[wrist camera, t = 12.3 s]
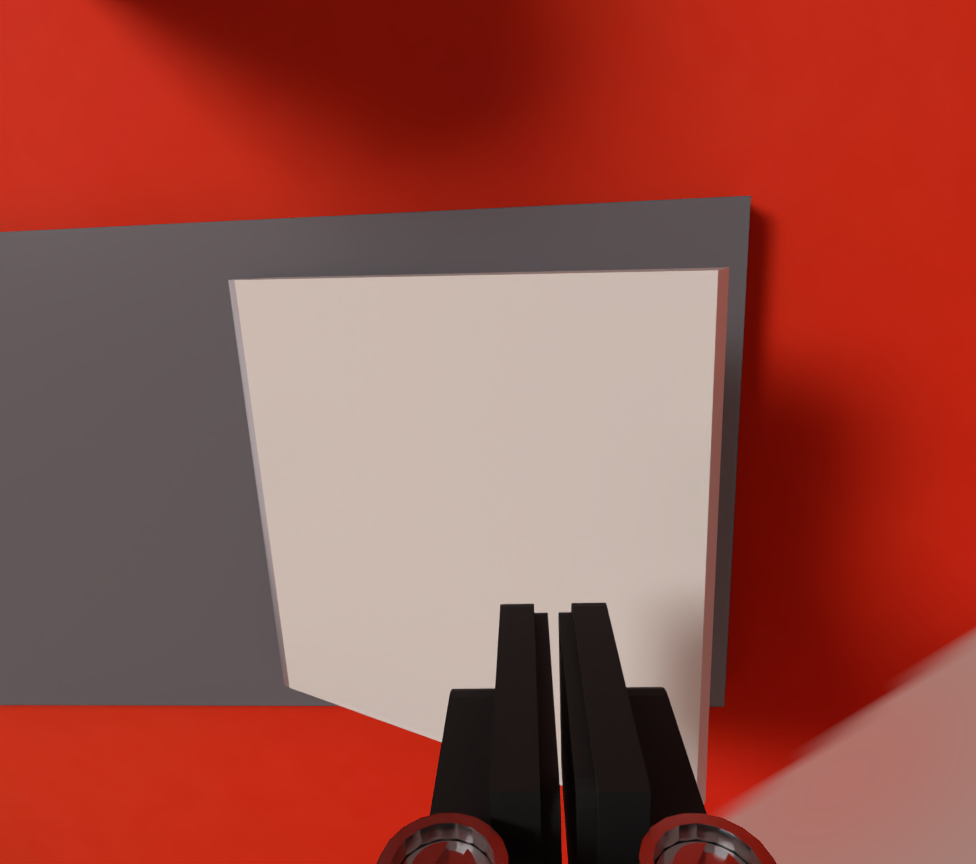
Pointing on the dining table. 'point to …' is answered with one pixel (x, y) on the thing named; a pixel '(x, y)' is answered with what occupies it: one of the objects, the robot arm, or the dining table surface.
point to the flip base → (231, 428)
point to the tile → (486, 475)
